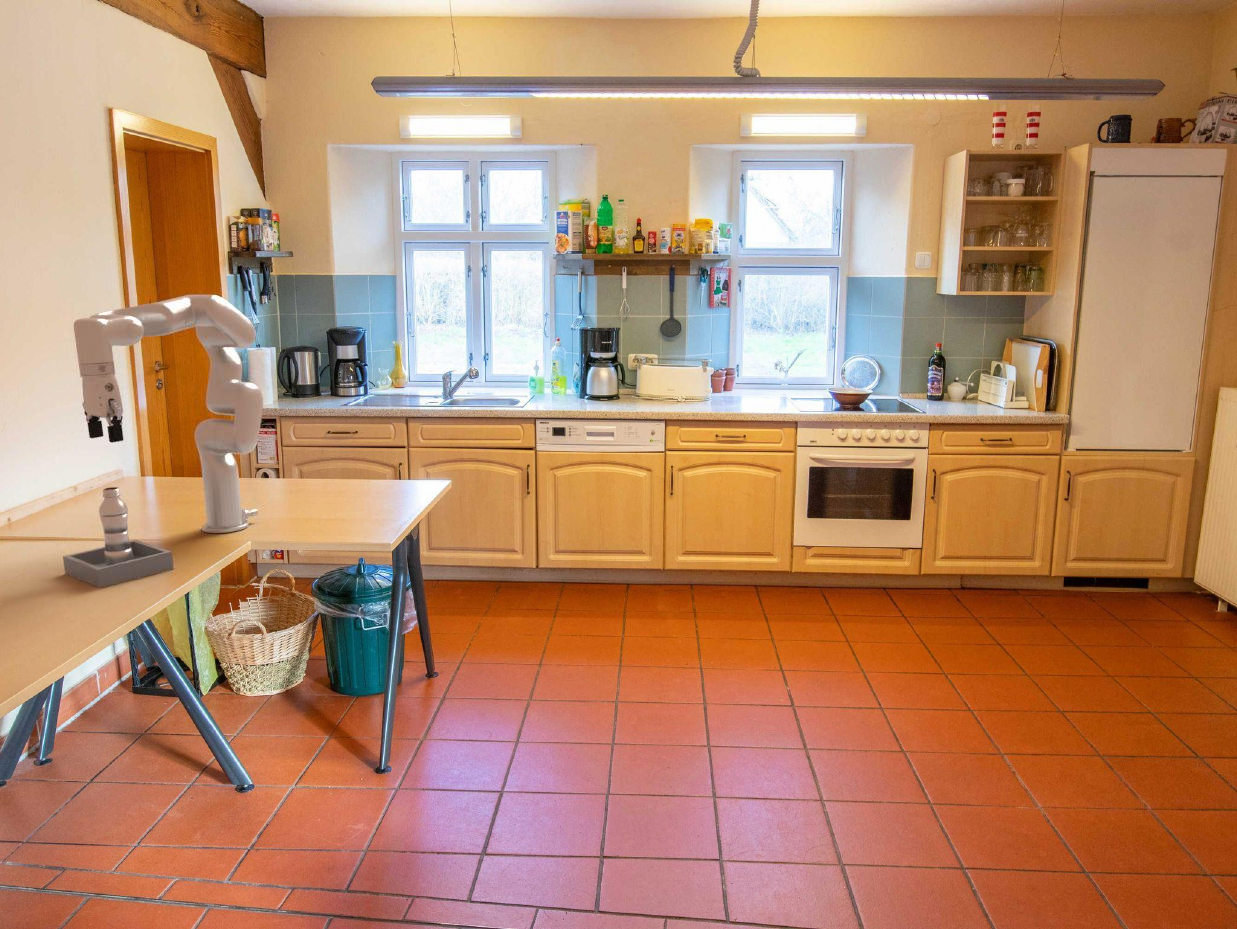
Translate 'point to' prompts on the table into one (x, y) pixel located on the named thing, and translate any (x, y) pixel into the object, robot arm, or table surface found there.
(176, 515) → the table surface
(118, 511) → the plastic bottle
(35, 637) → the table surface
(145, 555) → the bin
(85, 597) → the table surface
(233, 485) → the robot arm
